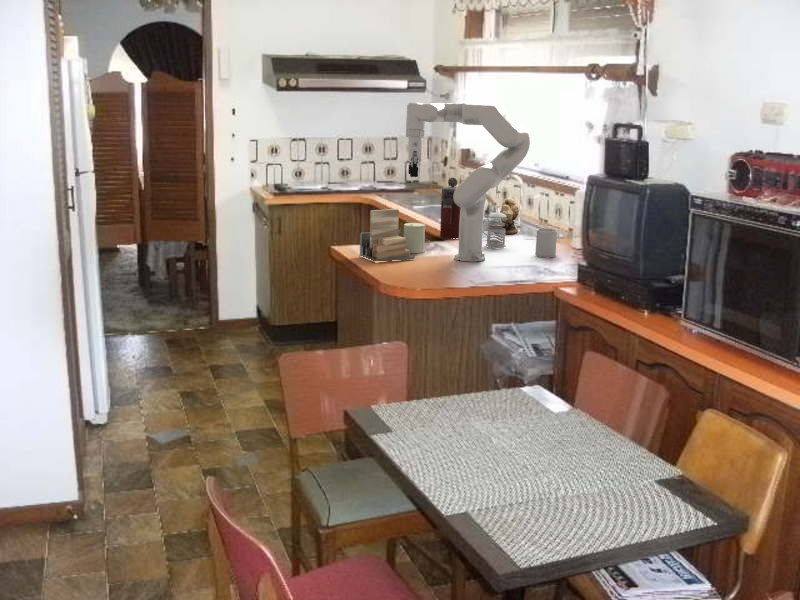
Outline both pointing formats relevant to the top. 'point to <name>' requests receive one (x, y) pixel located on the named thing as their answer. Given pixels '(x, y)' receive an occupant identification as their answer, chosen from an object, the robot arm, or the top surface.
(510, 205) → the tan bust sculpture
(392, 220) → the birch panel
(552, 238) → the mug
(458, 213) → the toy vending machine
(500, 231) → the french press
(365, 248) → the steel rack
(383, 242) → the offcut top
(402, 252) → the offcut bottom
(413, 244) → the can
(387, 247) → the offcut middle
